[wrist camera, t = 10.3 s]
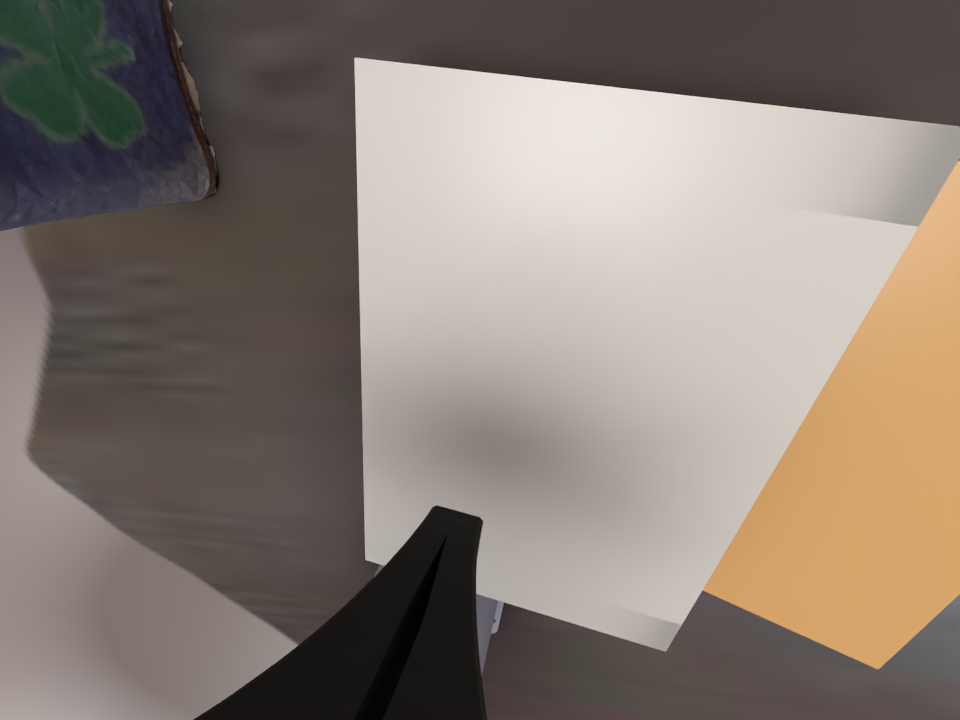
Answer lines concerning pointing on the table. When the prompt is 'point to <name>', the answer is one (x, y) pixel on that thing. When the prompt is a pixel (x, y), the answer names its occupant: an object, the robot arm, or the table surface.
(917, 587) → the door
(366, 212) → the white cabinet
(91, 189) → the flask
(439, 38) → the table surface
